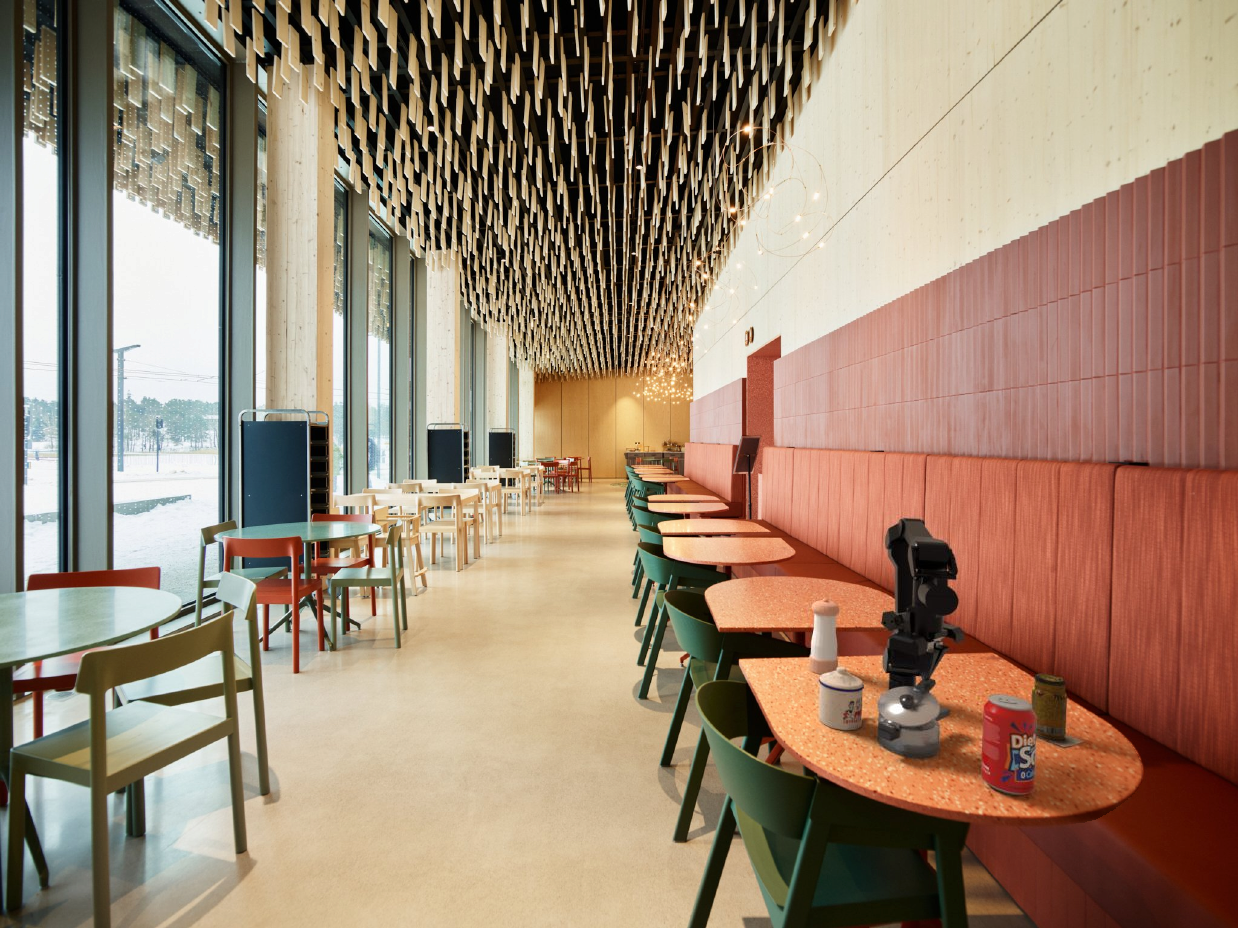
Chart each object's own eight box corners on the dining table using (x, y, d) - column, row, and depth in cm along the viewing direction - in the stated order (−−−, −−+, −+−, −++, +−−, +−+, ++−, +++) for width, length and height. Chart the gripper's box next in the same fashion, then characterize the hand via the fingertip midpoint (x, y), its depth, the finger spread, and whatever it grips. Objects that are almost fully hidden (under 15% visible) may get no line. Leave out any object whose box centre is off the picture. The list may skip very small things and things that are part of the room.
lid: (904, 675, 132) (902, 666, 131) (958, 692, 123) (957, 682, 122) (864, 716, 124) (862, 707, 123) (919, 738, 115) (917, 728, 114)
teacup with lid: (849, 735, 126) (851, 678, 126) (809, 720, 133) (811, 666, 133) (876, 719, 135) (878, 666, 134) (837, 706, 141) (838, 655, 141)
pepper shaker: (811, 663, 170) (813, 594, 170) (839, 668, 167) (841, 597, 166) (806, 671, 163) (809, 599, 163) (835, 677, 160) (838, 602, 160)
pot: (917, 719, 135) (918, 692, 135) (970, 739, 126) (971, 710, 126) (857, 744, 123) (858, 715, 122) (911, 768, 114) (912, 736, 113)
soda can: (977, 770, 113) (980, 689, 113) (1028, 780, 110) (1031, 696, 110) (984, 792, 106) (987, 704, 106) (1038, 803, 103) (1042, 713, 103)
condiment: (1040, 725, 134) (1043, 669, 134) (1084, 742, 127) (1086, 683, 126) (1019, 730, 131) (1022, 674, 131) (1063, 748, 124) (1065, 688, 123)
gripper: (914, 590, 138) (911, 660, 138) (865, 600, 127) (862, 676, 127) (966, 601, 129) (963, 675, 129) (918, 612, 118) (915, 694, 118)
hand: (925, 679), depth 126 cm, fingers closed
